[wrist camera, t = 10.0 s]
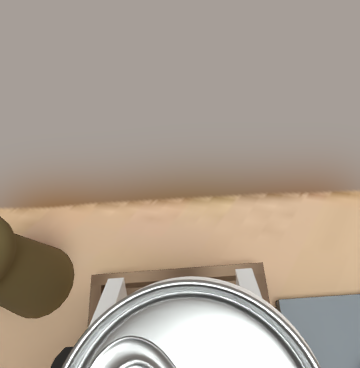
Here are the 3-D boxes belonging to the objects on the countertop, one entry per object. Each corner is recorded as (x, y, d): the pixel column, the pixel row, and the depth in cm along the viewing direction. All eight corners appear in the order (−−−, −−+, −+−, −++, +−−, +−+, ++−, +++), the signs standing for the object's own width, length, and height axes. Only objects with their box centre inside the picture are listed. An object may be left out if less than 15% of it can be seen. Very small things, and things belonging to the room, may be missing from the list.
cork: (60, 324, 26) (-28, 308, 16) (-8, 312, 27) (-130, 289, 17) (83, 251, 29) (18, 199, 19) (20, 242, 30) (-72, 187, 20)
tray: (91, 484, 21) (75, 502, 19) (102, 281, 27) (91, 274, 25) (291, 476, 21) (302, 493, 18) (257, 270, 27) (262, 262, 24)
